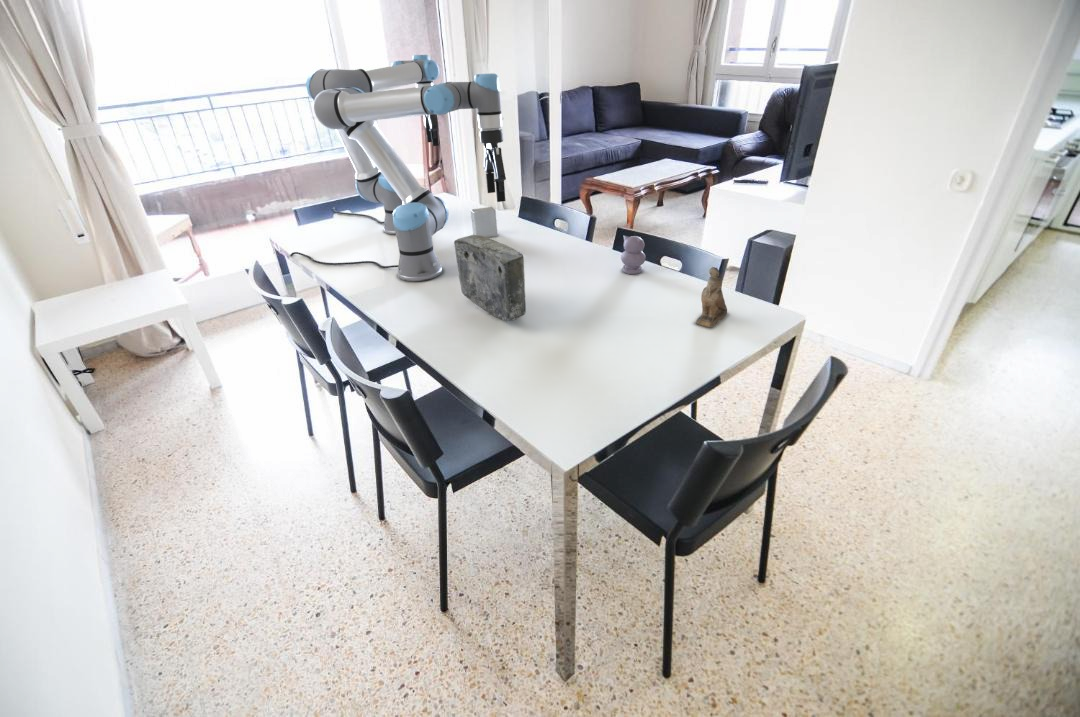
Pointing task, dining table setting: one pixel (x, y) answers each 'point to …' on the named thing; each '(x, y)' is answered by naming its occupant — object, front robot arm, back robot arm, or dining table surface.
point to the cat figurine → (633, 254)
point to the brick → (484, 222)
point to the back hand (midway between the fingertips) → (433, 144)
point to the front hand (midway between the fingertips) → (496, 196)
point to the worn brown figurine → (712, 301)
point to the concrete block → (492, 276)
